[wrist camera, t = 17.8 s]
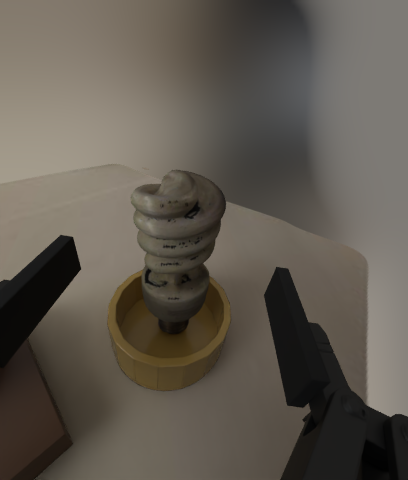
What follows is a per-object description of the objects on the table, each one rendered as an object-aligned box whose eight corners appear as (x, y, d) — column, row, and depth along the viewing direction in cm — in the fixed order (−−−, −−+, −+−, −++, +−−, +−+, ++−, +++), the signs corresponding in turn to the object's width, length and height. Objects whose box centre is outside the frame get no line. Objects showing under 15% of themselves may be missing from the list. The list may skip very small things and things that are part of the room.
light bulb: (155, 370, 17) (159, 199, 9) (129, 319, 21) (113, 159, 12) (210, 335, 21) (252, 184, 12) (179, 296, 24) (195, 155, 15)
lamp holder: (242, 333, 22) (253, 308, 19) (158, 426, 15) (160, 405, 13) (176, 276, 27) (178, 251, 25) (91, 326, 20) (83, 298, 18)
